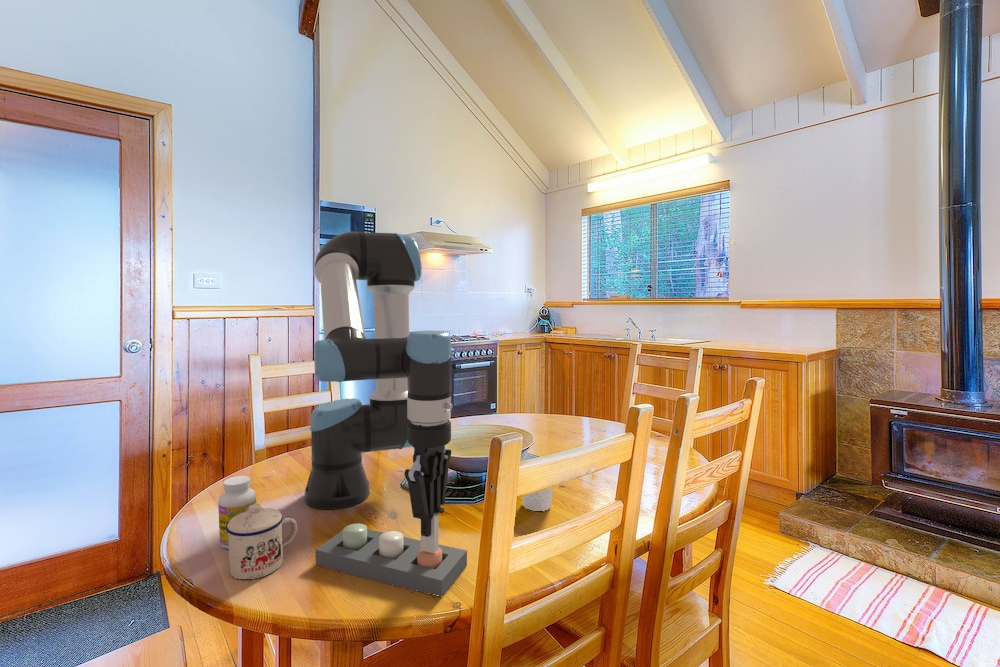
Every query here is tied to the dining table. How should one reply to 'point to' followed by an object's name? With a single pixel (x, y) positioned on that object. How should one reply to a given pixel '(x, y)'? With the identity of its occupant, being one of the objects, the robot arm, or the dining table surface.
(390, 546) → the cream button
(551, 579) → the dining table surface
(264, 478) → the dining table surface
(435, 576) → the button console
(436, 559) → the terracotta button
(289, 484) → the dining table surface
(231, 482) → the supplement bottle
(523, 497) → the white cup
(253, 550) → the teacup with lid
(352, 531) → the sage button
